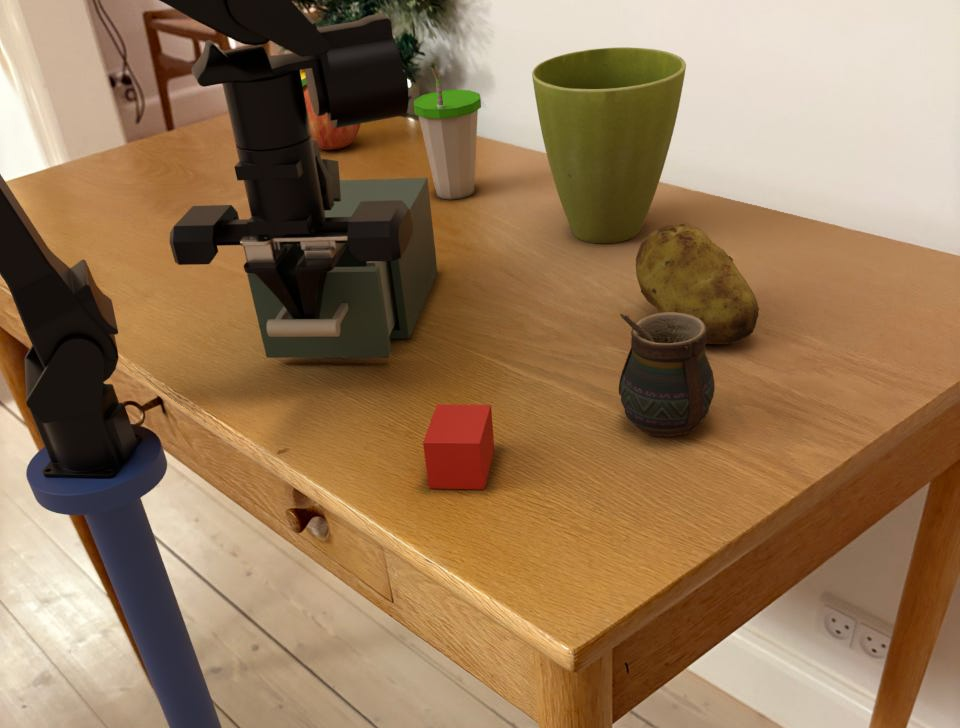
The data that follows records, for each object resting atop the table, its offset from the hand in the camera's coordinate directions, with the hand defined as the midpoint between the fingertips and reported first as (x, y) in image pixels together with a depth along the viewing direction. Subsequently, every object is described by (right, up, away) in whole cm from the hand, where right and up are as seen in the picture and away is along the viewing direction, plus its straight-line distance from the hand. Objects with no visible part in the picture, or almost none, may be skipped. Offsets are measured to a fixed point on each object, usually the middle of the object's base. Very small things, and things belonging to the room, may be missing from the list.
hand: (311, 332), depth 89 cm
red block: (+13, -13, -10) cm, 21 cm away
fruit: (-5, +41, +53) cm, 67 cm away
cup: (+11, +27, +36) cm, 47 cm away
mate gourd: (+29, -9, -7) cm, 31 cm away
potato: (+33, +2, +5) cm, 34 cm away
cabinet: (+3, +7, +14) cm, 16 cm away
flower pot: (+28, +18, +23) cm, 41 cm away
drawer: (+1, +2, +7) cm, 8 cm away
